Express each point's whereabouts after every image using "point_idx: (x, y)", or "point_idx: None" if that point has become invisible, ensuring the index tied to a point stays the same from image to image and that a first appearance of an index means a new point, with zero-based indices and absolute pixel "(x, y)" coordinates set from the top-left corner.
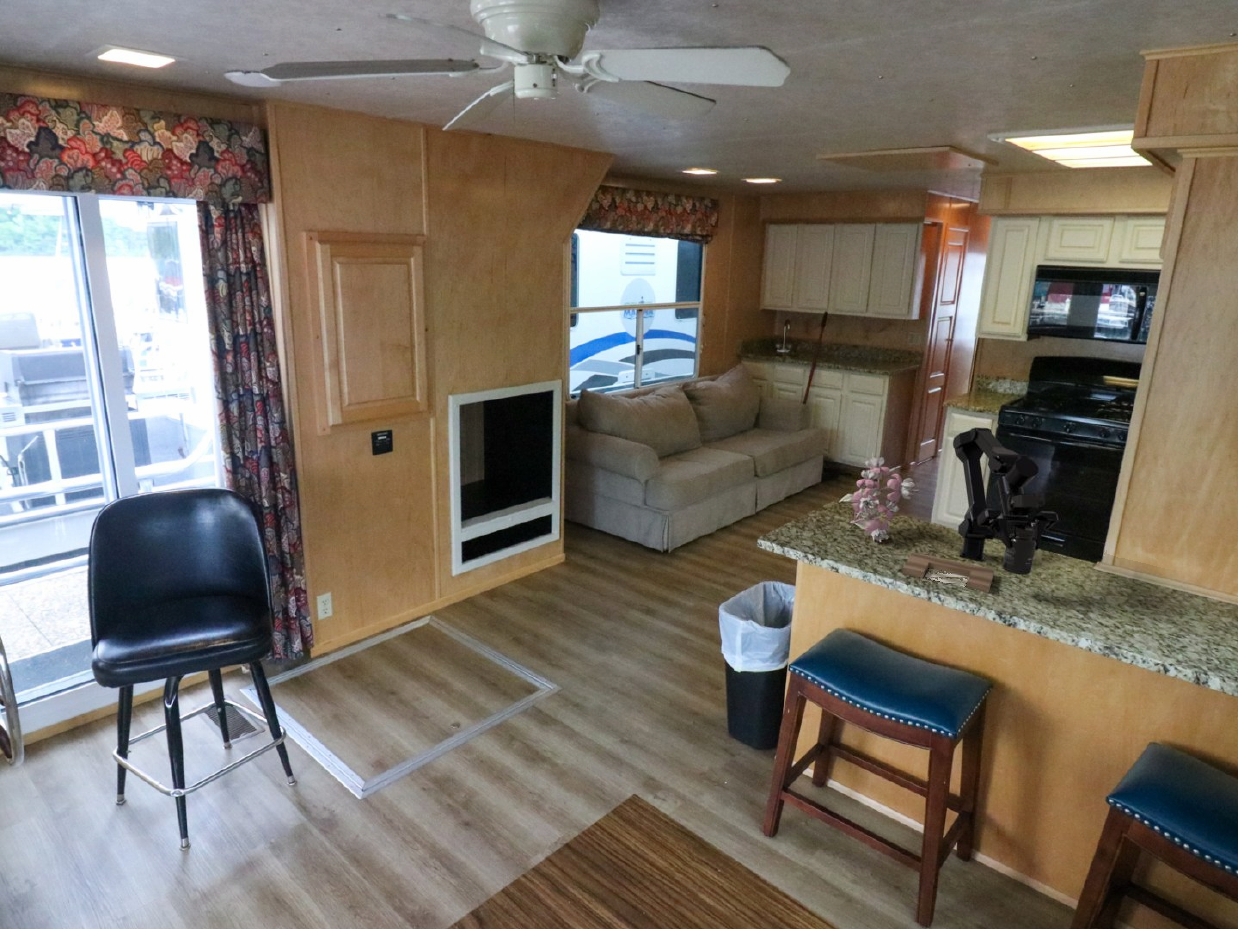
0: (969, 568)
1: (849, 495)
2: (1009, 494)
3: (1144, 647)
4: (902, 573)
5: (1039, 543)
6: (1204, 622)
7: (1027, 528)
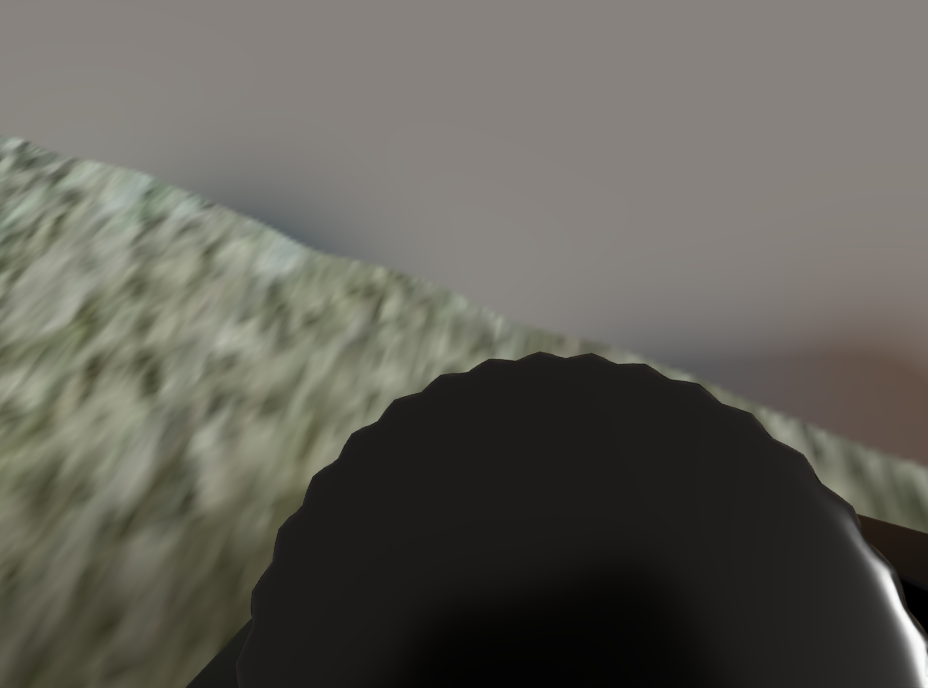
0: None
1: None
2: None
3: (107, 228)
4: None
5: (234, 640)
6: None
7: (495, 550)
